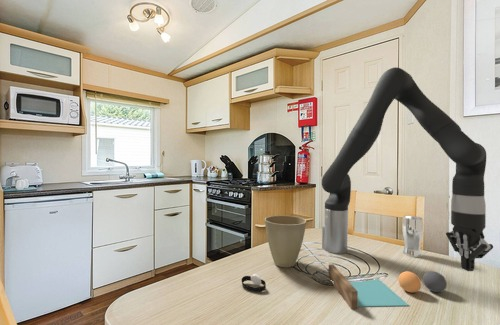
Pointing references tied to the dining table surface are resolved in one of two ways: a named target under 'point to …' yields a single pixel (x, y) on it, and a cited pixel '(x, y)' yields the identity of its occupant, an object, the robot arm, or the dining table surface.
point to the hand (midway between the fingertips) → (467, 269)
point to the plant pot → (285, 238)
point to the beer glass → (412, 235)
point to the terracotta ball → (409, 281)
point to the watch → (255, 280)
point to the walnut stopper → (343, 287)
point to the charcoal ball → (434, 281)
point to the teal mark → (376, 294)
